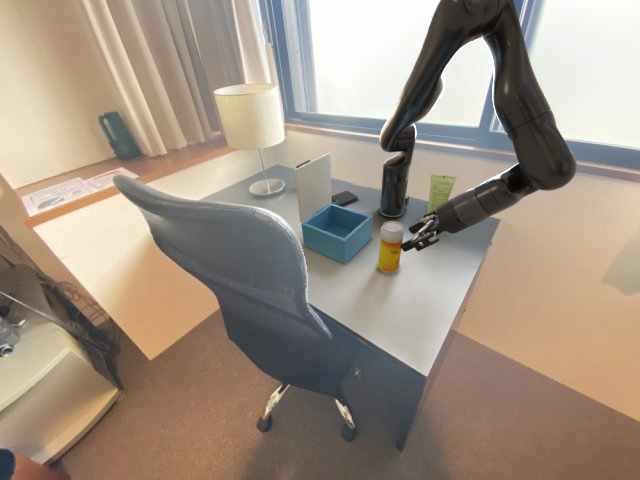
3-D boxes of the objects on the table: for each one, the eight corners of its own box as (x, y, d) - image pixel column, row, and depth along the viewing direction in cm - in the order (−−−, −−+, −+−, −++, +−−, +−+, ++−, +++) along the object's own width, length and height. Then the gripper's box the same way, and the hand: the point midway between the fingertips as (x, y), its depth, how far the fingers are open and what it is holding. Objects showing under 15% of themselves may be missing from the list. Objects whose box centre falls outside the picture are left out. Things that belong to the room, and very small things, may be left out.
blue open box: (371, 238, 94) (372, 216, 88) (344, 264, 84) (344, 241, 79) (331, 224, 103) (330, 203, 97) (304, 245, 93) (301, 223, 88)
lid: (330, 152, 86) (317, 150, 89) (296, 170, 76) (283, 166, 79) (331, 202, 97) (320, 198, 99) (301, 222, 87) (290, 218, 90)
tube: (434, 221, 99) (445, 170, 88) (444, 228, 96) (457, 176, 84) (421, 225, 98) (431, 174, 86) (430, 232, 94) (442, 180, 83)
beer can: (398, 275, 78) (405, 233, 69) (377, 273, 80) (380, 232, 71) (398, 262, 83) (403, 220, 74) (377, 260, 84) (381, 219, 75)
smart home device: (308, 204, 113) (346, 190, 121) (308, 207, 114) (346, 193, 122) (319, 212, 107) (358, 196, 115) (319, 215, 108) (358, 200, 116)
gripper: (458, 185, 66) (404, 216, 77) (449, 213, 56) (389, 244, 67) (476, 208, 66) (420, 235, 78) (471, 240, 57) (408, 265, 68)
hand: (406, 239), depth 73 cm, fingers open, 8 cm apart
